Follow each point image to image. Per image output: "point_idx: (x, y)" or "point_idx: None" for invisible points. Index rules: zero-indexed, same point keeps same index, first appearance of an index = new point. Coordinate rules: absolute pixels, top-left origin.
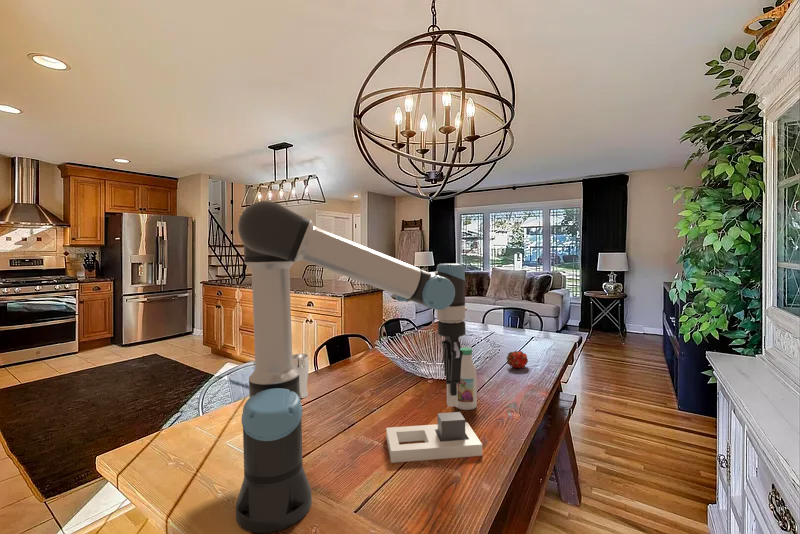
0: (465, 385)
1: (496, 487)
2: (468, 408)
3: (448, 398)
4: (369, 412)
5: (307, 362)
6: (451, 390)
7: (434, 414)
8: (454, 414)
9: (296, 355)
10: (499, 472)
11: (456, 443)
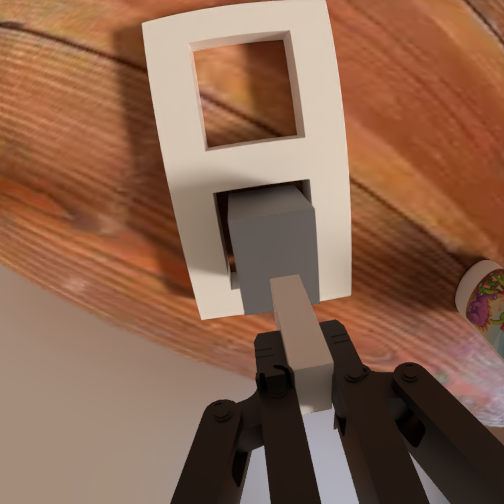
0: (499, 326)
1: (77, 304)
2: (457, 295)
3: (276, 304)
4: (471, 2)
5: None
6: (259, 357)
7: (459, 194)
8: None
9: None
10: (132, 322)
11: (200, 247)
